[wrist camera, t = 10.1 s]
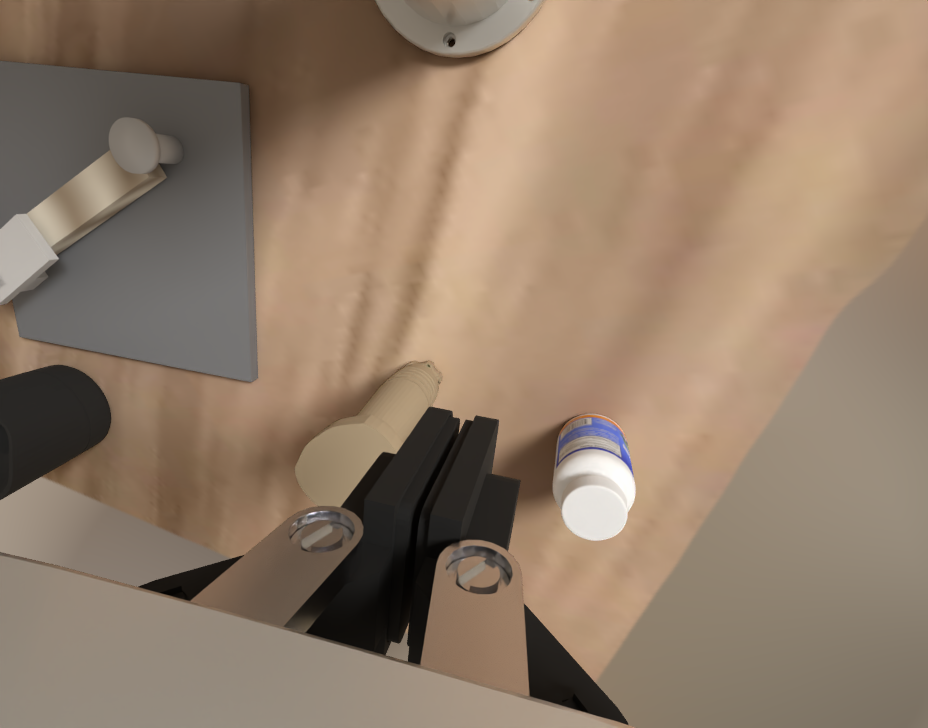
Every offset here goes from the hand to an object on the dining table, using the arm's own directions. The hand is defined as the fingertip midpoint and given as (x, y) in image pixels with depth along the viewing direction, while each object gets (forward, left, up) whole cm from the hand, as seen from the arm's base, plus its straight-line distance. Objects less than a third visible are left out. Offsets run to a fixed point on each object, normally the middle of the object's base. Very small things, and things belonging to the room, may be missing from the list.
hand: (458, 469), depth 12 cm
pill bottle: (+12, +6, -27) cm, 30 cm away
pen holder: (+19, -43, -27) cm, 54 cm away
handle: (+9, -8, -27) cm, 30 cm away
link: (-1, -36, -26) cm, 45 cm away
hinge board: (0, -35, -27) cm, 44 cm away
